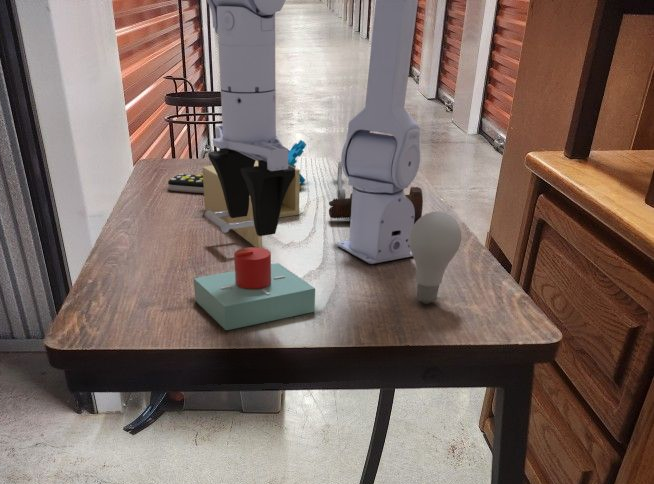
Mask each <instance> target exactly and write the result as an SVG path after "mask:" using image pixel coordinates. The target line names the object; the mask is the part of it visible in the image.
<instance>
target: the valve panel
mask: <svg viewBox="0 0 654 484" xmlns="http://www.w3.org/2000/svg"><path fill="white" fill-rule="evenodd" d="M193 288H194V290H193V291H194V300H195V302H196V303H197V304H198V305H199V306H200V307H201V308H202V309H203V310H204V311H205V312H206V313H207V314H208V315H209V316H211V318H212V319H213V320H214V321H215V322H217V324H218V325H220V326H221V327H222V328H223V330H225V331H231V330H236V329H240V328H244V327H248V326H254V325H258V324H263V323H269V322H272V321H277V320H278V321H279V320H282V319H287V318H291V317H296V316H302V315H306V314H311V313H315V309H316V287H314V286H312V285H311V284H310V283H308V282H307V281H306V280H304V279H302V278H301V277H299V276H298V275H296V274H295V273H294V272H292V271H291V270H289V269H288V268H287V267H285V266H283V265H282V264H280V263H279V262H276V263H271V284H270V285H269V286H267V287H264V288H260V289H245V288H241V287H239V286H237V285H236V282H235V270H231V271H226V272H220V273H214V274H209V275H203V276H198V277H194V278H193Z"/></svg>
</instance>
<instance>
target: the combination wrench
mask: <svg viewBox="0 0 654 484" xmlns="http://www.w3.org/2000/svg"><path fill="white" fill-rule="evenodd" d="M342 174H343V169H342V164H341V161H337V177H336V178H337V179H336V181H337V182H336V183H337V199H338V198H339V199H340V198H341V199H342V198H347V196H346V195H347V194H346V189H345V188H343V175H342Z"/></svg>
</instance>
